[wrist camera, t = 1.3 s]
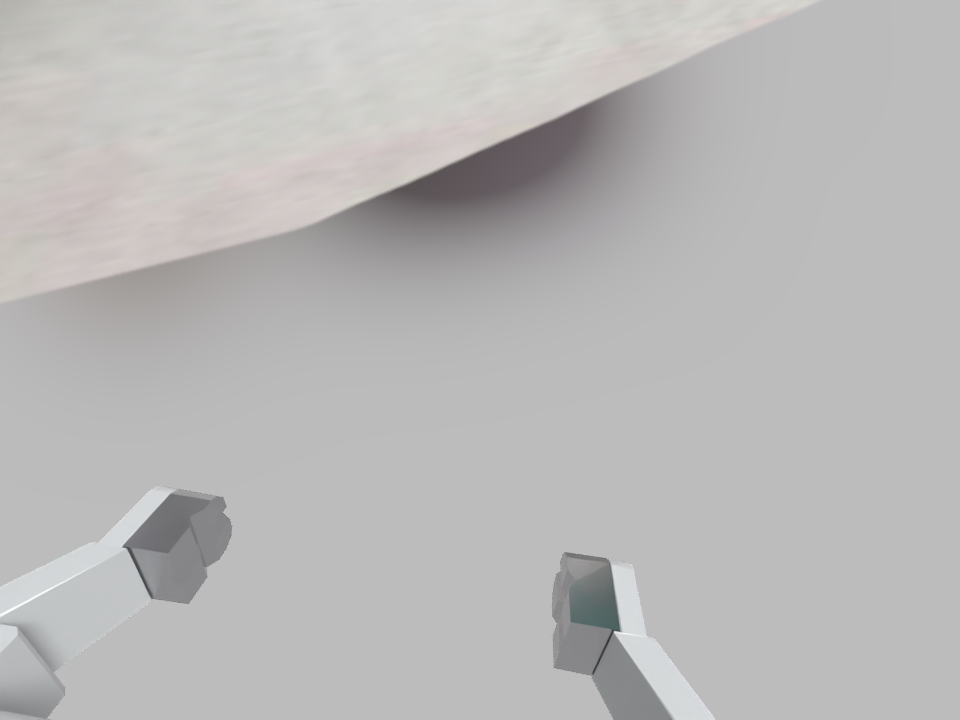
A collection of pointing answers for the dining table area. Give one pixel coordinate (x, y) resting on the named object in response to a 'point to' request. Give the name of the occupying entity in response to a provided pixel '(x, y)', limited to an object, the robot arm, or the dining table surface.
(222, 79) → the dining table surface
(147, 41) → the dining table surface
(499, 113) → the dining table surface
